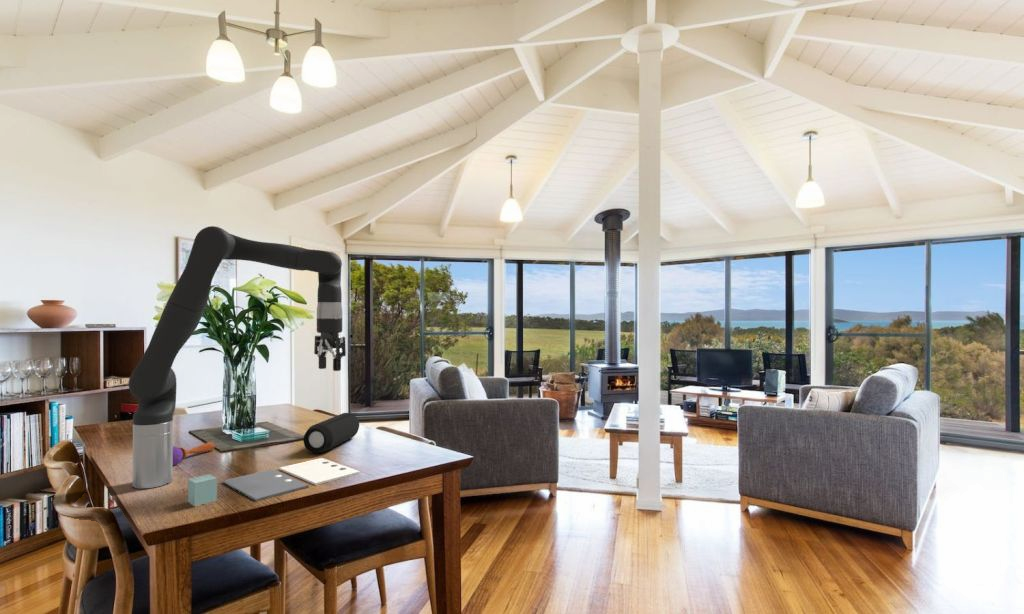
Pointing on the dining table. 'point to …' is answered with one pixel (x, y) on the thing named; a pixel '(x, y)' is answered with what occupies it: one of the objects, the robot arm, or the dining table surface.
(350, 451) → the dining table surface
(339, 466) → the three dot pad
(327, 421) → the portable speaker
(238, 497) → the dining table surface
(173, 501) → the dining table surface
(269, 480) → the two dot pad
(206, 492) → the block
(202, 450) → the kendama
